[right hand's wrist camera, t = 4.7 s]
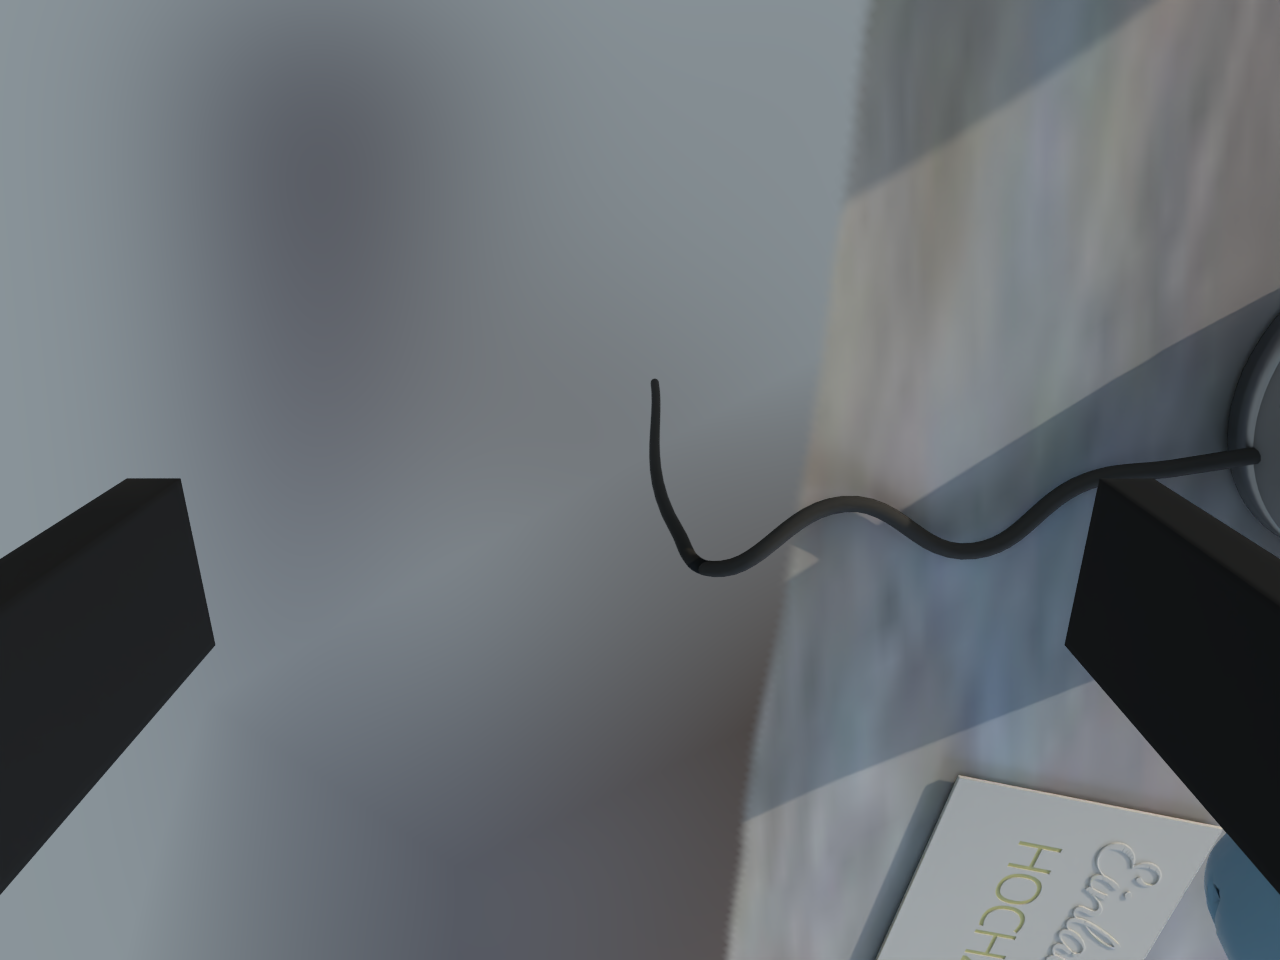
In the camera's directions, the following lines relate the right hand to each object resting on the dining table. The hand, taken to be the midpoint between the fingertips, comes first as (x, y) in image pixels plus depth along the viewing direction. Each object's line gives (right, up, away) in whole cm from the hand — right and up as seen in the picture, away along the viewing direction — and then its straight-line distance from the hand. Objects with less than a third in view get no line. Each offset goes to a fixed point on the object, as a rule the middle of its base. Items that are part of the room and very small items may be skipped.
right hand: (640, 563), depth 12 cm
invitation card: (+22, -26, +37) cm, 50 cm away
